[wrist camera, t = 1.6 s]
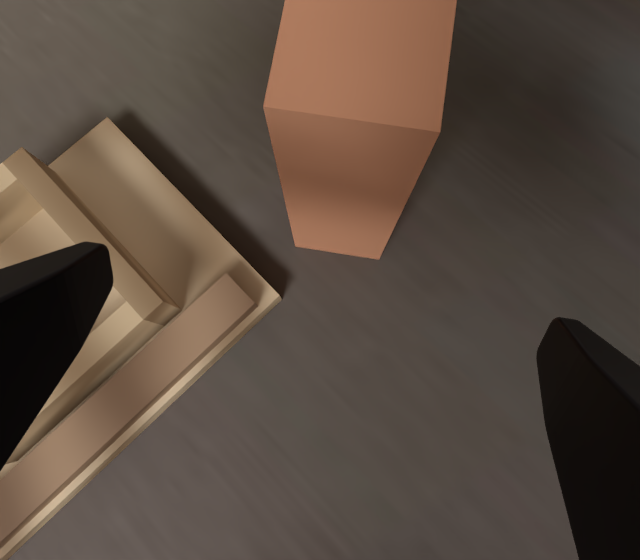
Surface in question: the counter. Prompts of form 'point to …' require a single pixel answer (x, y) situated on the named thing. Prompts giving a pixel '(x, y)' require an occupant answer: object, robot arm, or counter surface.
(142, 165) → the jig
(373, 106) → the block
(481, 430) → the counter surface
